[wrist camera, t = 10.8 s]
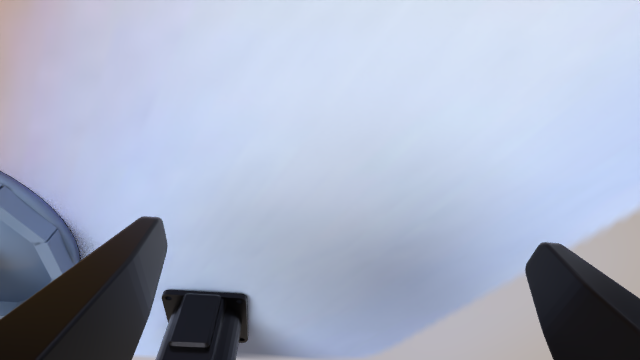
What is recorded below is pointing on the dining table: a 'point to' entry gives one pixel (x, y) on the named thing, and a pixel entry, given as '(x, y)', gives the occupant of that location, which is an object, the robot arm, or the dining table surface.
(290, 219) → the dining table surface
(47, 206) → the light blue round dish
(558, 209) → the dining table surface
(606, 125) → the dining table surface
